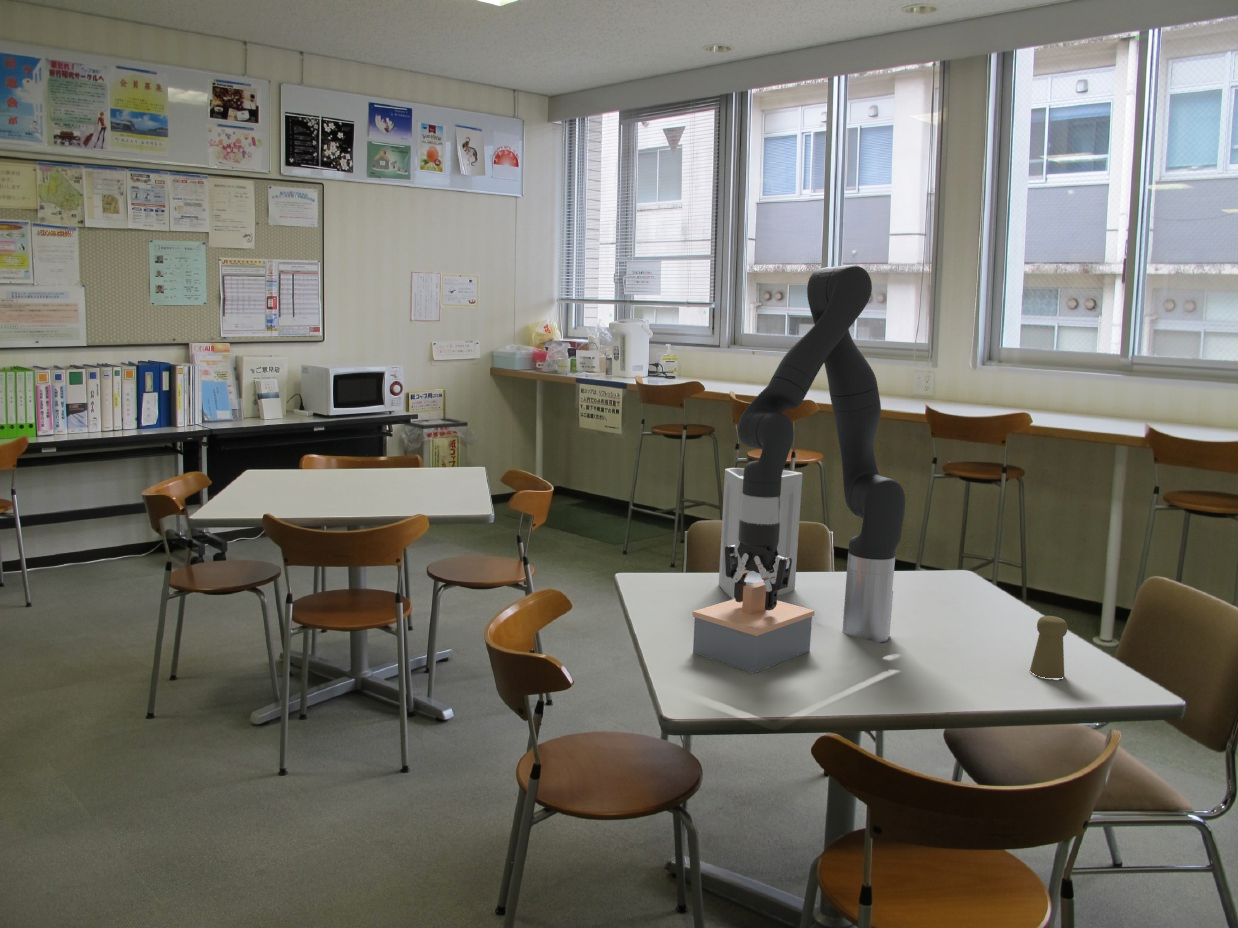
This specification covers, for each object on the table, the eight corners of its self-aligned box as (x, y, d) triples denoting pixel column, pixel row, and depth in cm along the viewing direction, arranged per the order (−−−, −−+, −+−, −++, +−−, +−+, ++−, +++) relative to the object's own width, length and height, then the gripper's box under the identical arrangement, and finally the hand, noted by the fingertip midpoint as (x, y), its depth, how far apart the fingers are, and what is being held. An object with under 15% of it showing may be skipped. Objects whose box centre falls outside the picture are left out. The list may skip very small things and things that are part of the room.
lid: (751, 604, 200) (753, 569, 199) (813, 621, 190) (816, 584, 189) (692, 622, 187) (694, 585, 185) (755, 642, 177) (758, 603, 176)
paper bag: (744, 576, 247) (751, 464, 243) (796, 589, 237) (803, 473, 233) (697, 590, 233) (703, 472, 228) (749, 605, 223) (757, 481, 219)
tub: (749, 637, 201) (752, 598, 199) (809, 655, 191) (812, 615, 190) (692, 657, 188) (694, 616, 186) (753, 678, 178) (755, 635, 177)
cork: (1061, 683, 182) (1068, 624, 180) (1026, 675, 185) (1032, 618, 183) (1066, 673, 187) (1073, 616, 185) (1032, 666, 190) (1038, 610, 188)
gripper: (804, 522, 183) (798, 610, 186) (740, 509, 193) (736, 593, 195) (780, 527, 178) (774, 618, 180) (716, 514, 187) (712, 600, 190)
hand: (754, 605), depth 188 cm, fingers open, 6 cm apart
